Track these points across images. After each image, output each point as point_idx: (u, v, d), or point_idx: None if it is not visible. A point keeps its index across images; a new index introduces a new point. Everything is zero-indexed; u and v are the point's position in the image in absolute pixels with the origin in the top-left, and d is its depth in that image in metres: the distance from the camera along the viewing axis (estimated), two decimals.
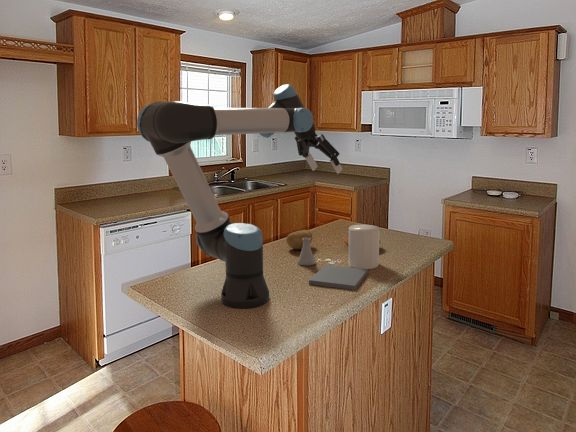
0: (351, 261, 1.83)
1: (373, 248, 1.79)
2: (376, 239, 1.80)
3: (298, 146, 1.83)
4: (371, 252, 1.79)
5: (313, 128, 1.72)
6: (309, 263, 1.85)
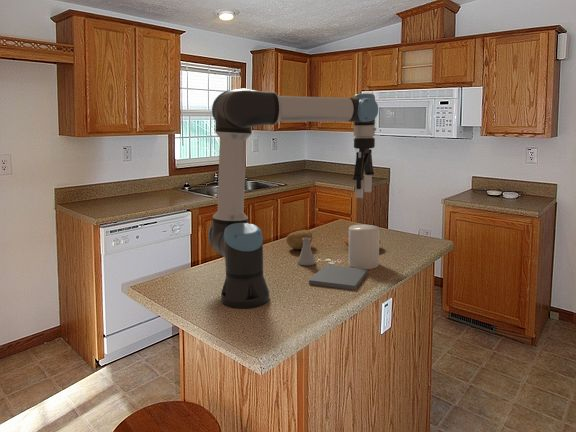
0: (351, 261, 1.83)
1: (373, 248, 1.79)
2: (376, 239, 1.80)
3: None
4: (371, 252, 1.79)
5: (365, 144, 1.73)
6: (309, 263, 1.85)
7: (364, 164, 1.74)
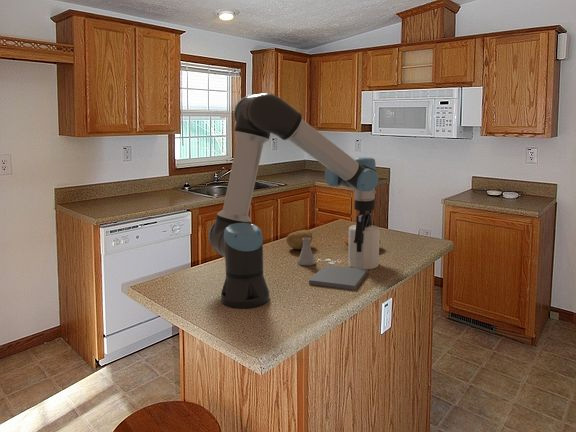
0: (351, 261, 1.83)
1: (373, 248, 1.79)
2: (376, 239, 1.80)
3: None
4: (371, 252, 1.79)
5: (365, 207, 1.77)
6: (309, 263, 1.85)
7: (364, 227, 1.78)
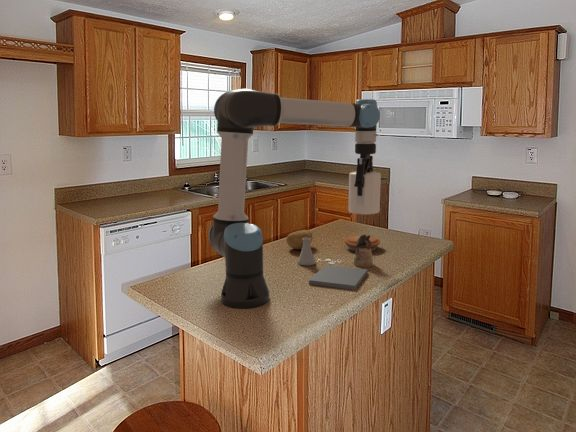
0: (351, 207, 1.78)
1: (374, 193, 1.75)
2: (377, 183, 1.75)
3: None
4: (372, 196, 1.75)
5: (366, 150, 1.73)
6: (309, 263, 1.85)
7: (365, 170, 1.74)
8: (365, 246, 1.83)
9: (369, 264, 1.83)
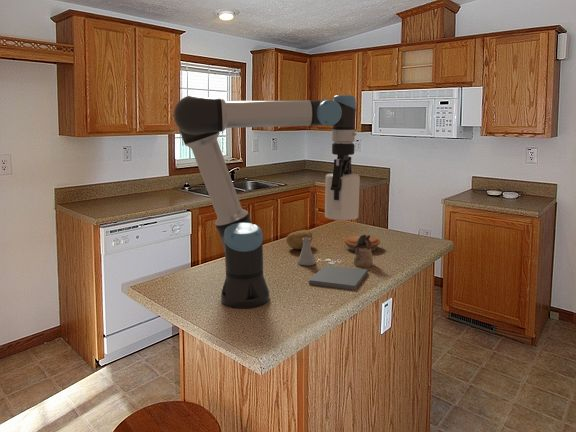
0: (328, 212, 1.64)
1: (352, 197, 1.61)
2: (356, 187, 1.62)
3: None
4: (350, 201, 1.61)
5: (343, 150, 1.59)
6: (309, 263, 1.85)
7: (342, 172, 1.60)
8: (365, 246, 1.83)
9: (369, 264, 1.83)
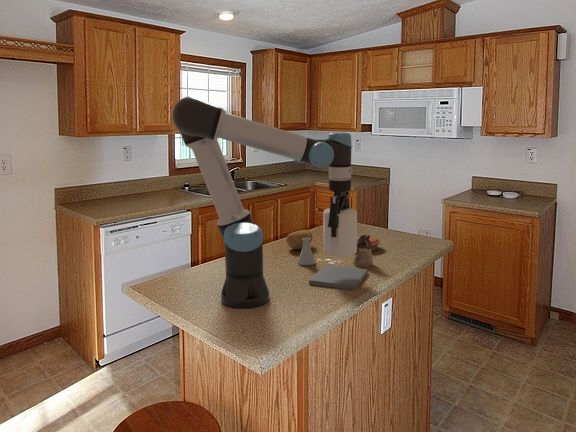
0: (326, 248, 1.65)
1: (350, 233, 1.62)
2: (353, 223, 1.62)
3: None
4: (348, 237, 1.62)
5: (340, 187, 1.60)
6: (309, 263, 1.85)
7: (339, 209, 1.61)
8: (365, 246, 1.83)
9: (369, 264, 1.83)
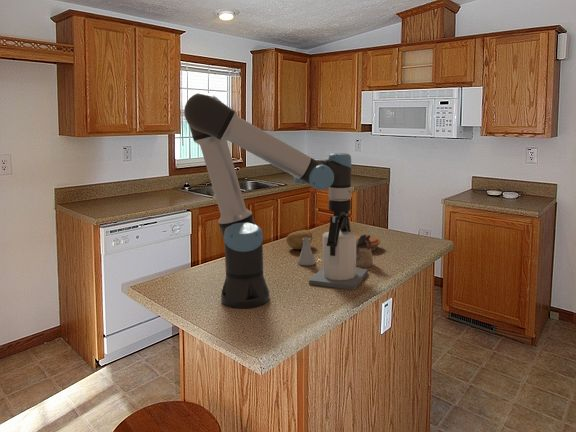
0: (325, 271, 1.67)
1: (349, 257, 1.64)
2: (352, 247, 1.64)
3: None
4: (347, 261, 1.63)
5: (340, 208, 1.61)
6: (309, 263, 1.85)
7: (339, 229, 1.62)
8: (365, 246, 1.83)
9: (369, 264, 1.83)
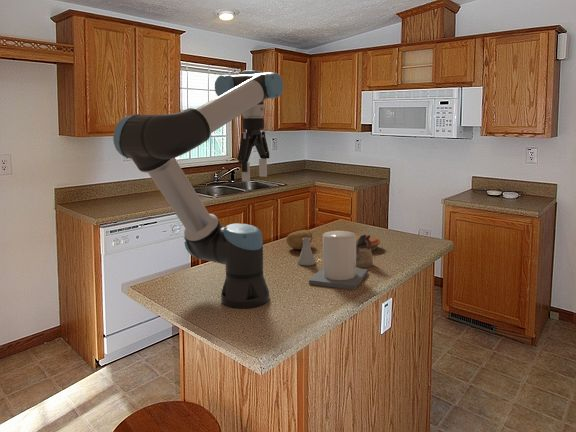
0: (325, 271, 1.67)
1: (349, 257, 1.64)
2: (352, 247, 1.64)
3: None
4: (347, 261, 1.63)
5: (251, 124, 1.63)
6: (309, 263, 1.85)
7: (251, 146, 1.64)
8: (365, 246, 1.83)
9: (369, 264, 1.83)
